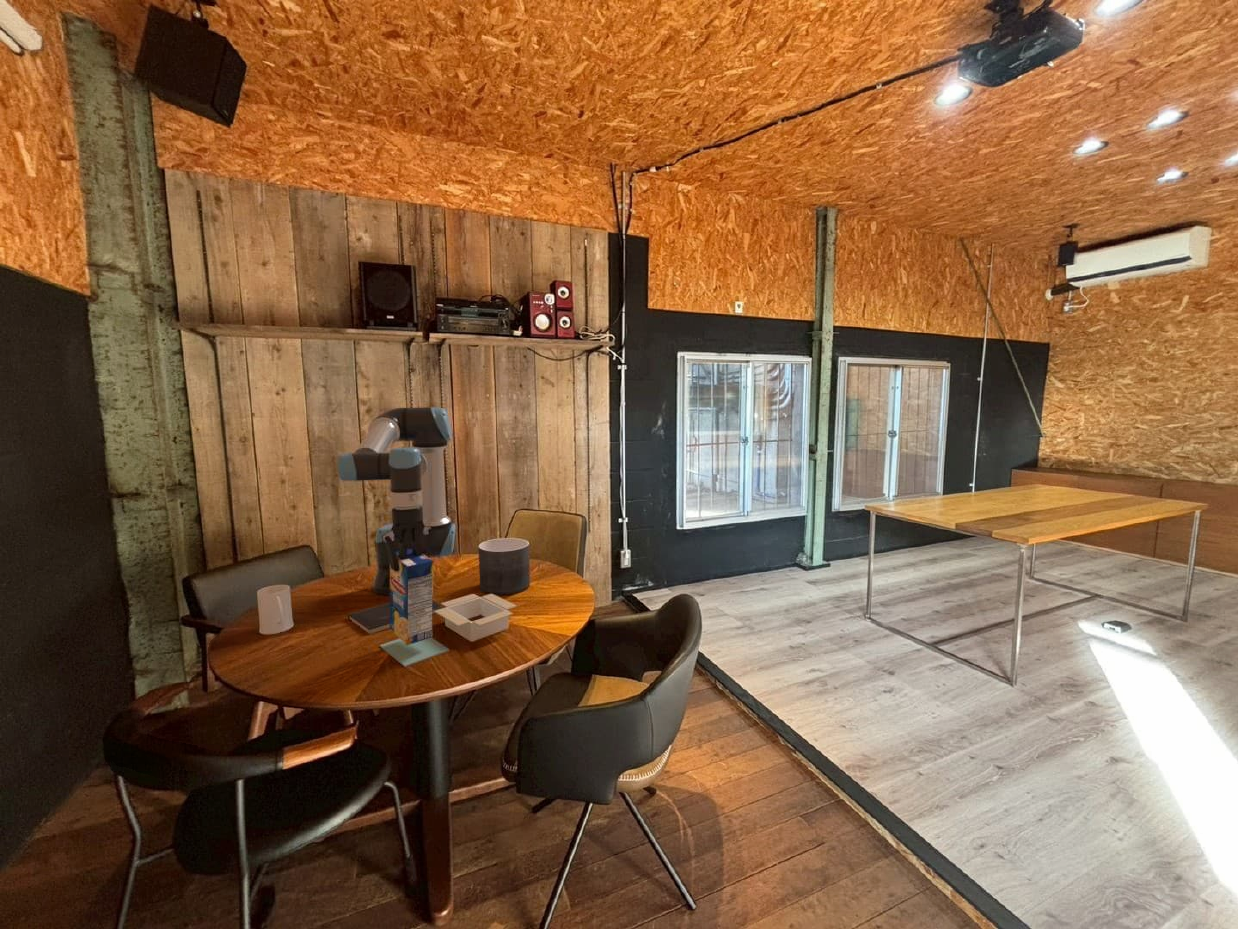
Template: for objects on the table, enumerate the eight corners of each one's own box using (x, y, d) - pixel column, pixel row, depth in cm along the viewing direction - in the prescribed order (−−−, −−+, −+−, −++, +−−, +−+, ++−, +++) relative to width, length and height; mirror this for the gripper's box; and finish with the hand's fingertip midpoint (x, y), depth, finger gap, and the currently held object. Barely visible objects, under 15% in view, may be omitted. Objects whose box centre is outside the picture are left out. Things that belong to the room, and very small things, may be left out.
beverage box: (407, 645, 134) (407, 566, 130) (389, 628, 141) (389, 552, 137) (432, 637, 139) (433, 560, 135) (414, 620, 146) (414, 547, 142)
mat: (379, 646, 141) (379, 645, 141) (422, 632, 150) (422, 631, 149) (404, 667, 130) (404, 665, 130) (449, 650, 138) (449, 649, 138)
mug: (297, 633, 149) (294, 593, 148) (261, 641, 144) (258, 600, 142) (291, 619, 158) (288, 582, 157) (258, 627, 153) (254, 588, 152)
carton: (428, 625, 154) (427, 607, 153) (485, 607, 168) (484, 590, 167) (466, 650, 139) (465, 629, 138) (525, 628, 152) (525, 609, 152)
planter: (540, 584, 190) (539, 542, 188) (505, 599, 175) (504, 554, 173) (505, 575, 199) (504, 535, 197) (469, 589, 184) (467, 546, 182)
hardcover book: (443, 613, 165) (443, 606, 165) (369, 636, 148) (368, 629, 148) (419, 600, 176) (419, 593, 175) (348, 620, 159) (347, 613, 159)
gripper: (384, 513, 127) (389, 604, 130) (440, 504, 138) (444, 589, 140) (372, 508, 132) (377, 597, 135) (427, 501, 143) (431, 583, 146)
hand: (411, 593), depth 138 cm, fingers closed on beverage box, 2 cm apart
